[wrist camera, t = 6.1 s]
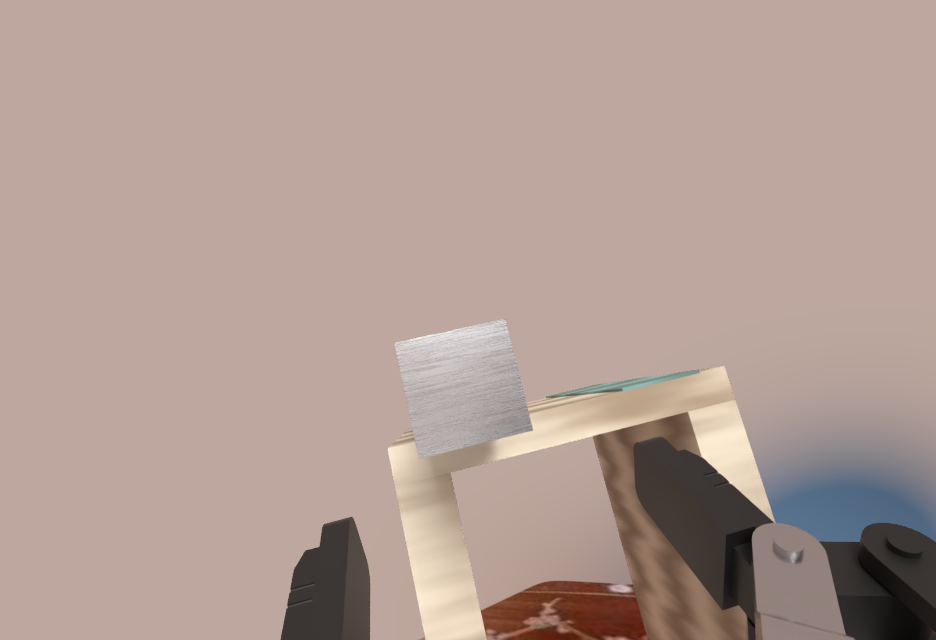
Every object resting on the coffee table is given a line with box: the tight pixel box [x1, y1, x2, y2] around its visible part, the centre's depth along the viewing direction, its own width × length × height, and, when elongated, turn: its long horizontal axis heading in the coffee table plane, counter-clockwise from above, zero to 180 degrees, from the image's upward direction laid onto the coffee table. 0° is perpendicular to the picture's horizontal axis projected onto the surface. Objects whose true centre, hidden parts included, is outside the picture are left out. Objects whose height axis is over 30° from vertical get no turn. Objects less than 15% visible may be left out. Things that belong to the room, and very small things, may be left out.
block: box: [395, 319, 533, 459], centre depth 29 cm, size 26×6×4 cm, turn 5°
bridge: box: [388, 366, 775, 640], centre depth 33 cm, size 18×20×32 cm
